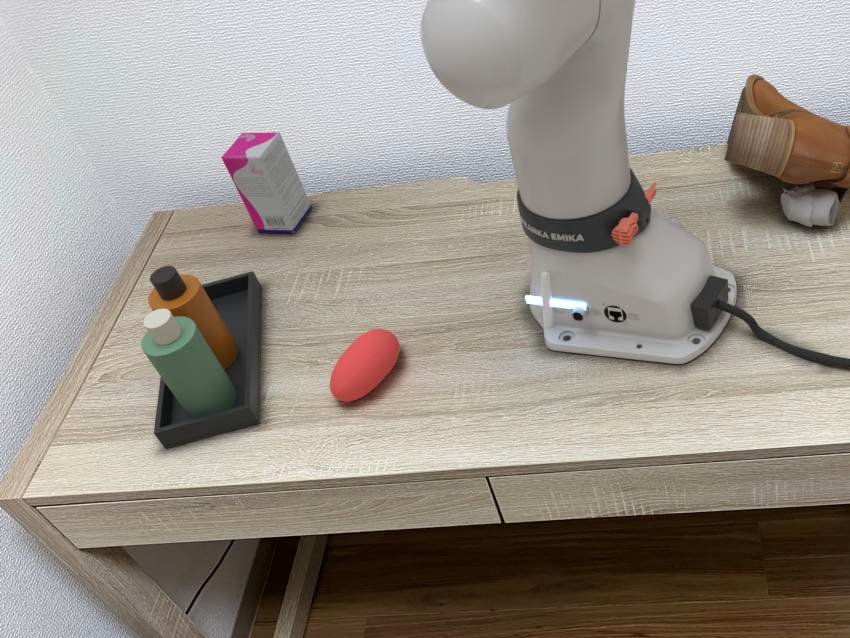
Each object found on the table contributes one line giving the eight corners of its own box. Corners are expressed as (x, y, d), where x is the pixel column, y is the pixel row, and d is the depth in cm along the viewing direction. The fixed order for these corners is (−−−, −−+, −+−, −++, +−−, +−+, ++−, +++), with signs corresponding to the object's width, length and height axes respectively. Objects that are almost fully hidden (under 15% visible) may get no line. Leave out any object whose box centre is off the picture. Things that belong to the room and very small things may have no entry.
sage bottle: (247, 390, 98) (196, 305, 89) (212, 427, 95) (155, 344, 86) (211, 377, 101) (157, 293, 92) (176, 413, 98) (117, 330, 89)
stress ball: (424, 378, 97) (408, 322, 95) (353, 408, 91) (335, 348, 90) (397, 377, 101) (381, 322, 99) (327, 405, 95) (310, 348, 94)
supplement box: (313, 206, 121) (281, 130, 113) (294, 234, 117) (259, 158, 109) (276, 205, 123) (241, 130, 114) (256, 233, 119) (218, 158, 111)
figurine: (847, 220, 101) (817, 240, 99) (791, 196, 106) (761, 215, 104) (849, 190, 98) (818, 210, 96) (791, 167, 103) (761, 186, 101)
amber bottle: (248, 347, 103) (200, 262, 94) (215, 381, 100) (162, 297, 91) (214, 335, 105) (163, 252, 96) (180, 368, 103) (125, 286, 93)
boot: (729, 130, 119) (873, 164, 117) (713, 197, 99) (887, 239, 97) (749, 60, 113) (900, 94, 111) (736, 115, 94) (920, 158, 92)
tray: (180, 308, 111) (170, 292, 109) (261, 286, 111) (253, 270, 109) (165, 449, 95) (153, 433, 93) (259, 423, 95) (249, 407, 93)
